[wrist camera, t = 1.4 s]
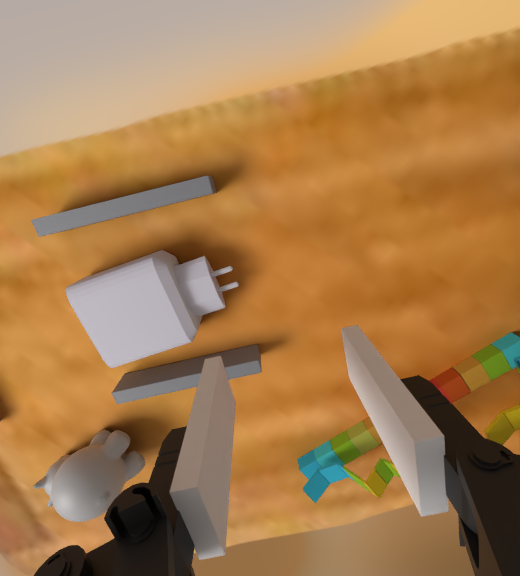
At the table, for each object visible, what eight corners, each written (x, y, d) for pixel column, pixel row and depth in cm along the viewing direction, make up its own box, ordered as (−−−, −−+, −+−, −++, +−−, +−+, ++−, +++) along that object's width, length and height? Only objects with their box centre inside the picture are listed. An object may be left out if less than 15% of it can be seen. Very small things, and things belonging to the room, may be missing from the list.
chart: (310, 471, 42) (341, 618, 27) (297, 457, 41) (322, 601, 27) (519, 350, 37) (690, 452, 22) (508, 331, 36) (679, 425, 22)
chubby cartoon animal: (67, 420, 41) (-2, 480, 33) (130, 422, 36) (66, 493, 28) (92, 460, 43) (33, 524, 35) (155, 468, 38) (101, 544, 30)
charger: (250, 307, 34) (127, 348, 35) (220, 228, 31) (87, 275, 32) (251, 325, 29) (109, 372, 30) (215, 234, 26) (61, 289, 28)
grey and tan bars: (209, 165, 29) (204, 163, 26) (262, 362, 36) (263, 380, 32) (-121, 250, 30) (-167, 257, 27) (-11, 423, 37) (-36, 446, 34)
